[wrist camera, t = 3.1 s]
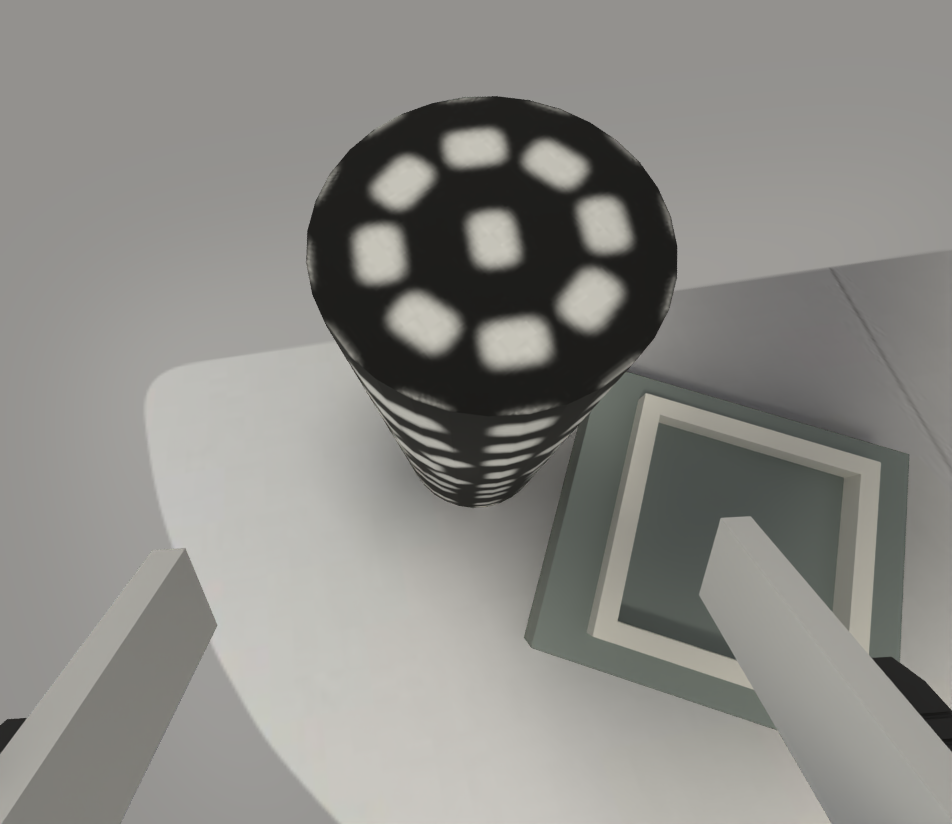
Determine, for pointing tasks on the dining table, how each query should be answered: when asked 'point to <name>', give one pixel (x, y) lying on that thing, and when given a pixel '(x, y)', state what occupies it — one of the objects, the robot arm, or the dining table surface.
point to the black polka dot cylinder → (489, 282)
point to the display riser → (710, 536)
